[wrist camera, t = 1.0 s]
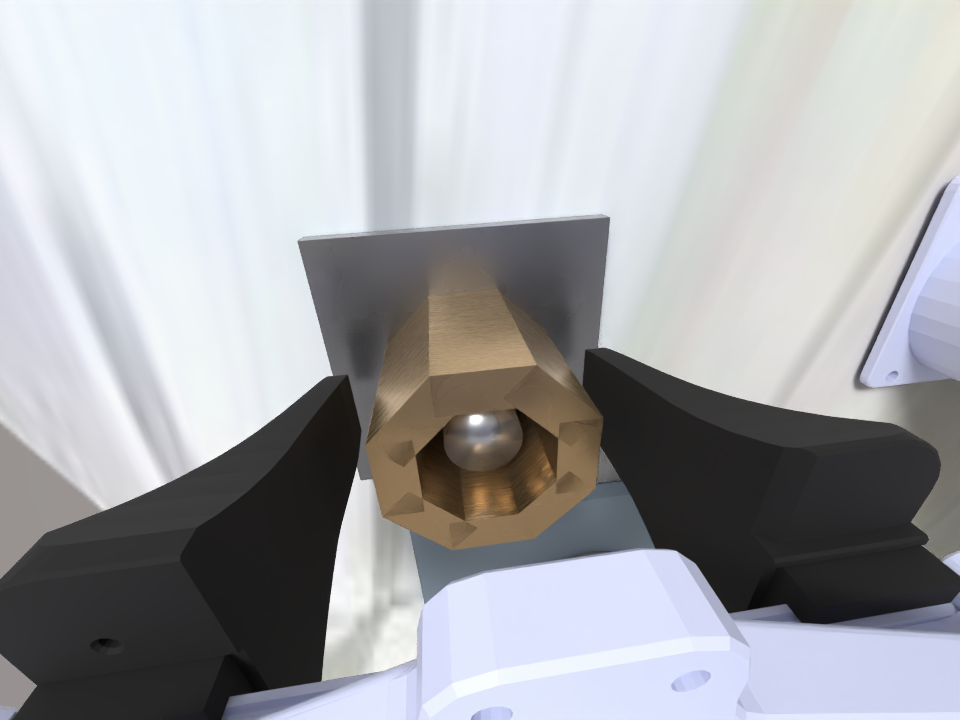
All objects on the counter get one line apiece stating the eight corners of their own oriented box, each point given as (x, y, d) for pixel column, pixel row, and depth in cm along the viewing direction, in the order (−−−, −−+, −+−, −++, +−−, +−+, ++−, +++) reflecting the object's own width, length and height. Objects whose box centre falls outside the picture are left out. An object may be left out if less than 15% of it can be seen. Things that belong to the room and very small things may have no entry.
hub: (757, 463, 18) (856, 556, 14) (696, 632, 25) (751, 730, 21) (409, 508, 17) (403, 625, 13) (441, 674, 24) (444, 787, 19)
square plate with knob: (602, 214, 12) (688, 244, 8) (582, 442, 16) (633, 537, 12) (303, 236, 12) (236, 282, 7) (362, 469, 16) (340, 578, 12)
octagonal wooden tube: (545, 285, 12) (610, 357, 8) (542, 419, 15) (590, 530, 10) (378, 299, 12) (350, 384, 8) (403, 435, 14) (392, 558, 10)
